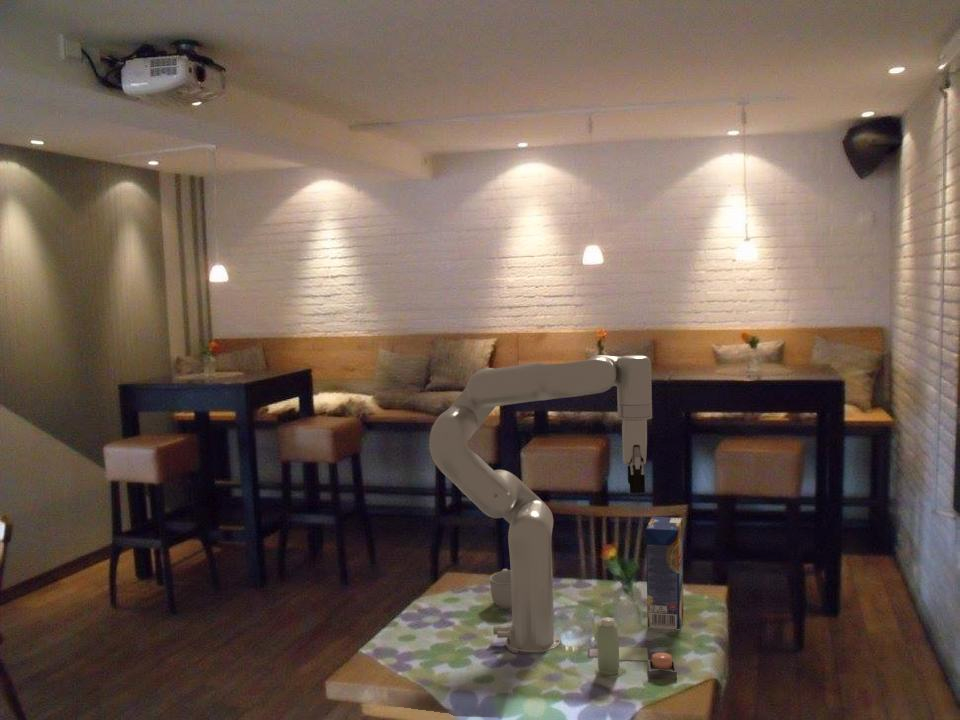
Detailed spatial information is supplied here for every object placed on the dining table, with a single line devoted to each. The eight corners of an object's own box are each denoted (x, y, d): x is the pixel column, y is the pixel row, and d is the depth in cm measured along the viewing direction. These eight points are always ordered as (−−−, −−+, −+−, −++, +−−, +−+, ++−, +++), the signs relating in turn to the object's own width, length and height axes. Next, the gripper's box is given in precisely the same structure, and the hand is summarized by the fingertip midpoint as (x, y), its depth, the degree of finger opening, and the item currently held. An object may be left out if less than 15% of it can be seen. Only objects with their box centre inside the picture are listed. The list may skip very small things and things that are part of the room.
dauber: (598, 676, 189) (596, 623, 188) (598, 667, 193) (597, 615, 192) (619, 676, 188) (618, 623, 187) (619, 668, 193) (618, 616, 192)
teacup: (533, 612, 231) (532, 581, 230) (490, 613, 231) (489, 582, 230) (530, 594, 244) (530, 565, 244) (490, 595, 245) (489, 566, 244)
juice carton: (679, 630, 216) (677, 530, 214) (647, 627, 218) (645, 528, 216) (683, 612, 227) (682, 517, 225) (653, 610, 229) (651, 516, 227)
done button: (652, 669, 187) (652, 660, 187) (651, 661, 191) (651, 652, 191) (672, 670, 187) (672, 660, 187) (671, 662, 191) (671, 652, 191)
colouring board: (579, 686, 187) (579, 673, 186) (581, 648, 206) (581, 636, 206) (679, 689, 184) (678, 676, 184) (671, 650, 204) (671, 638, 203)
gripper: (616, 406, 211) (618, 480, 212) (618, 417, 193) (620, 496, 195) (649, 406, 210) (650, 479, 211) (654, 416, 192) (656, 496, 194)
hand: (636, 487), depth 203 cm, fingers open, 9 cm apart
